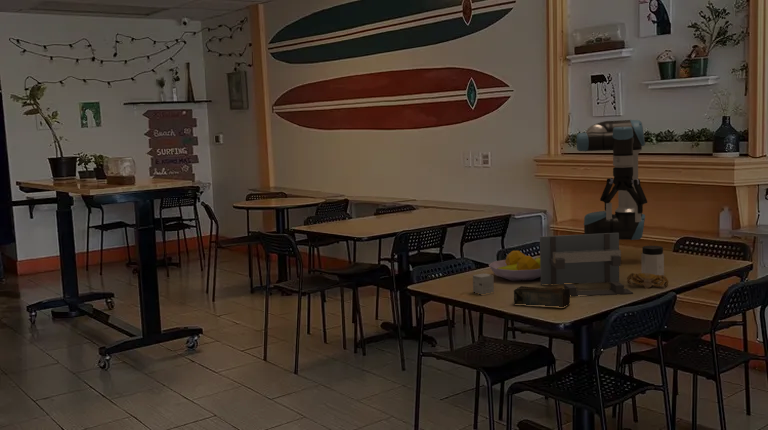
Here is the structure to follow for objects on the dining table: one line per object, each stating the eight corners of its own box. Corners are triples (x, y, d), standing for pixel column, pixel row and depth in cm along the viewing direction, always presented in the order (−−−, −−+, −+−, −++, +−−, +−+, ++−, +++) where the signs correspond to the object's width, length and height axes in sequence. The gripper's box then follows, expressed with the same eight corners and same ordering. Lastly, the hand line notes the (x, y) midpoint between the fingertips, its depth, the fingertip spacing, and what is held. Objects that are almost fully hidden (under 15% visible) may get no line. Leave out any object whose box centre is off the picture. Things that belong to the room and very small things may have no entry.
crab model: (664, 282, 310) (664, 269, 309) (670, 289, 297) (670, 275, 297) (624, 282, 312) (624, 269, 312) (628, 289, 300) (628, 275, 299)
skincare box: (472, 293, 306) (472, 274, 305) (485, 290, 308) (484, 272, 308) (481, 295, 300) (481, 277, 299) (494, 293, 303) (493, 275, 302)
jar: (654, 278, 317) (654, 249, 315) (637, 275, 324) (637, 247, 322) (667, 275, 322) (667, 246, 320) (651, 272, 329) (651, 244, 327)
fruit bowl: (483, 283, 322) (482, 256, 321) (498, 270, 347) (497, 245, 346) (550, 285, 312) (550, 258, 311) (561, 272, 337) (560, 247, 336)
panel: (540, 284, 314) (539, 236, 312) (618, 280, 315) (618, 232, 313) (548, 292, 301) (547, 241, 298) (629, 288, 301) (629, 237, 299)
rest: (555, 293, 298) (555, 284, 298) (626, 289, 299) (626, 280, 299) (559, 297, 292) (559, 288, 291) (633, 293, 292) (633, 284, 292)
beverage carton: (520, 300, 290) (520, 283, 289) (571, 305, 280) (570, 287, 280) (513, 305, 283) (513, 288, 282) (564, 310, 274) (564, 292, 273)
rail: (552, 261, 304) (552, 252, 304) (617, 258, 305) (617, 248, 304) (555, 263, 301) (554, 253, 300) (620, 260, 301) (620, 250, 301)
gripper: (590, 166, 308) (591, 219, 310) (644, 167, 287) (645, 224, 290) (602, 165, 312) (603, 217, 314) (656, 166, 292) (656, 221, 294)
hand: (623, 220), depth 302 cm, fingers open, 13 cm apart
